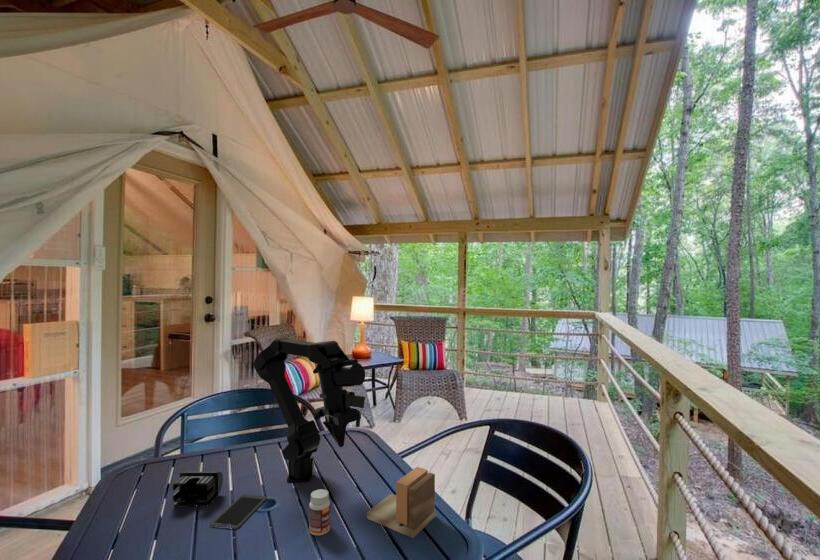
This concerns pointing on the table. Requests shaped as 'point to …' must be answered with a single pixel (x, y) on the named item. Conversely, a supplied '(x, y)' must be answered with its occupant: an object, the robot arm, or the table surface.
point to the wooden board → (406, 493)
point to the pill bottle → (319, 512)
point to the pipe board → (418, 508)
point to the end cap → (197, 488)
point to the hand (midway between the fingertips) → (341, 446)
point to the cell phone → (239, 511)
